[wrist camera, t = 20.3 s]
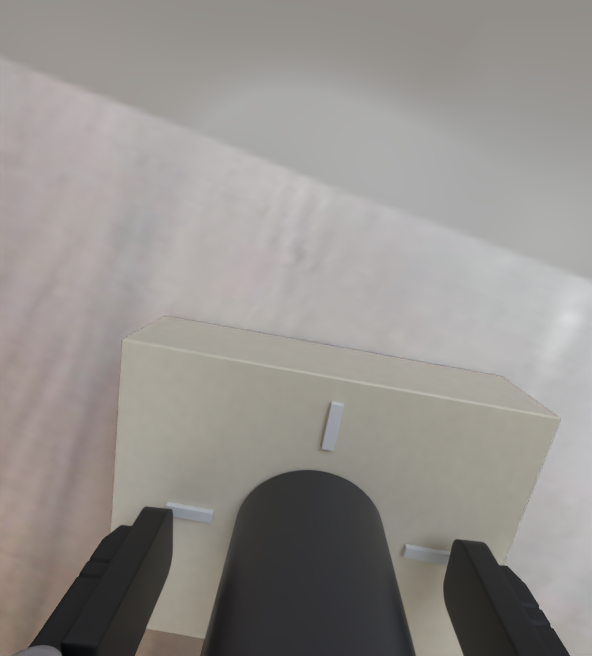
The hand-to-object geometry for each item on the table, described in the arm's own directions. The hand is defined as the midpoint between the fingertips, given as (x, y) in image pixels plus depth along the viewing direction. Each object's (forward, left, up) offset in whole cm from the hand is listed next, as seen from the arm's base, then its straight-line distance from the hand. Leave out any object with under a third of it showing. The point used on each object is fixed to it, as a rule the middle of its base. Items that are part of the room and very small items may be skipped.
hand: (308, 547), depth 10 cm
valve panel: (0, 0, -4) cm, 4 cm away
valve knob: (0, 0, -1) cm, 1 cm away
